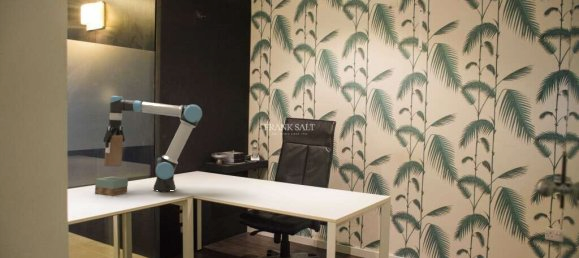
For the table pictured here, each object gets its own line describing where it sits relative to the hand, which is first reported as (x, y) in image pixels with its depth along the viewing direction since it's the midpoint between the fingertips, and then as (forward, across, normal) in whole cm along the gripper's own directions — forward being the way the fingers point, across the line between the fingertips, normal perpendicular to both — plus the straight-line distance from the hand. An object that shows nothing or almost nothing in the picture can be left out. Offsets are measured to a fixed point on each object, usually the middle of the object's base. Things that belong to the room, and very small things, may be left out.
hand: (113, 152), depth 281 cm
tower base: (+28, 0, 0) cm, 28 cm away
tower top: (+23, 0, 0) cm, 23 cm away
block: (+9, 0, 0) cm, 9 cm away
